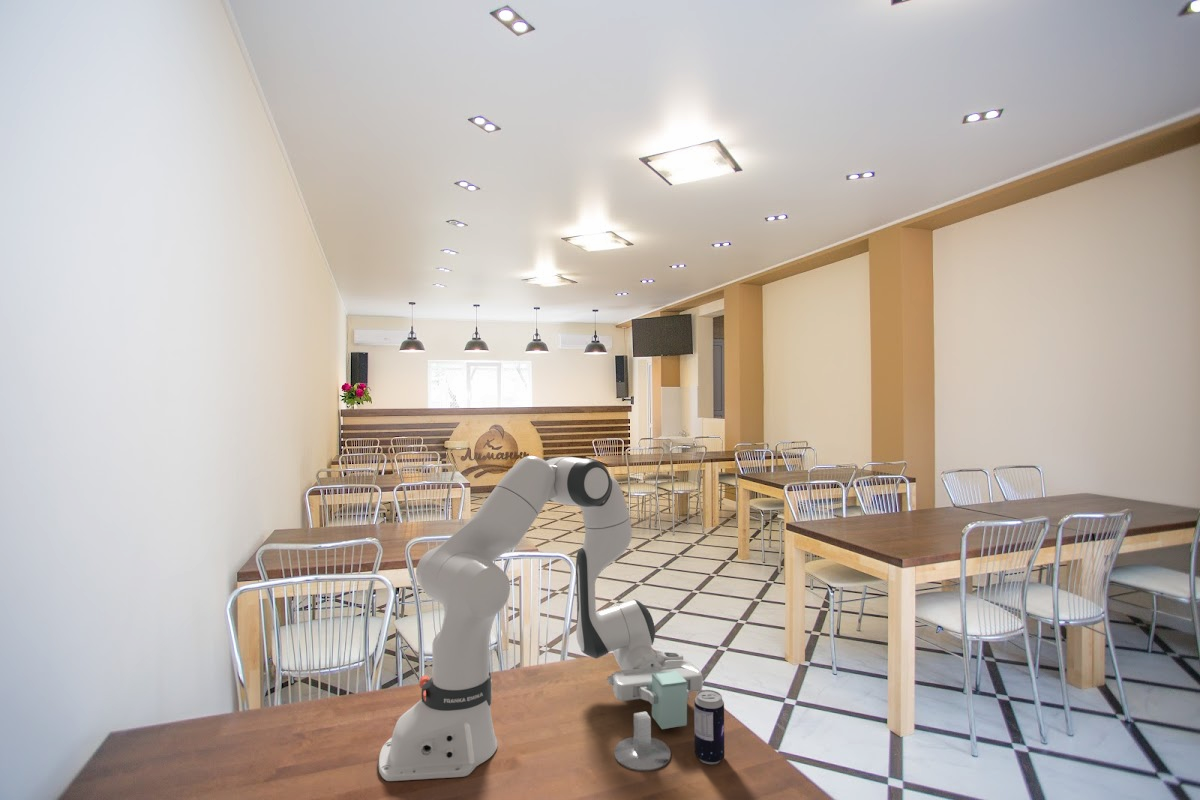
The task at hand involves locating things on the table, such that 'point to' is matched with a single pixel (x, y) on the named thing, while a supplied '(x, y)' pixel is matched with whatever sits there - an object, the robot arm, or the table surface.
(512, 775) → the table surface
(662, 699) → the mint green lidded box
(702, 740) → the beverage can
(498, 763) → the table surface
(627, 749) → the post
